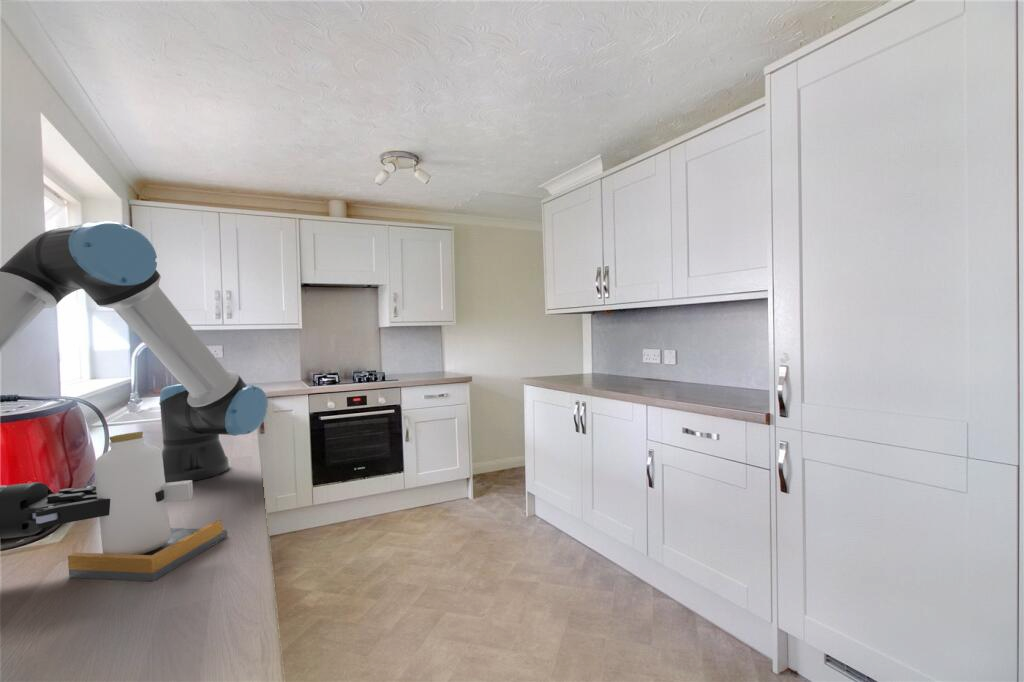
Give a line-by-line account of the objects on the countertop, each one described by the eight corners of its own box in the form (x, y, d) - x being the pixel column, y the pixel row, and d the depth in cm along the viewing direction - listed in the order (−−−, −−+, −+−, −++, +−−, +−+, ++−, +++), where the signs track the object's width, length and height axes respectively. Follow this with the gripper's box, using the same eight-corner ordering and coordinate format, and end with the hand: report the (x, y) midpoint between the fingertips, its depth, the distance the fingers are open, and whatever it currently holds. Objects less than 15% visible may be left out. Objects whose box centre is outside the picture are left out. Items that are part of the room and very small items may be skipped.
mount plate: (155, 534, 82) (154, 516, 82) (227, 536, 80) (226, 518, 80) (69, 577, 68) (67, 555, 68) (153, 581, 66) (151, 559, 66)
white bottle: (183, 540, 75) (171, 427, 75) (122, 564, 67) (108, 439, 68) (153, 537, 78) (141, 429, 79) (92, 560, 71) (79, 441, 71)
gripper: (38, 519, 75) (206, 499, 82) (-31, 557, 62) (175, 529, 69) (35, 473, 75) (203, 456, 81) (-35, 501, 62) (172, 478, 69)
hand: (190, 489), depth 75 cm, fingers closed
